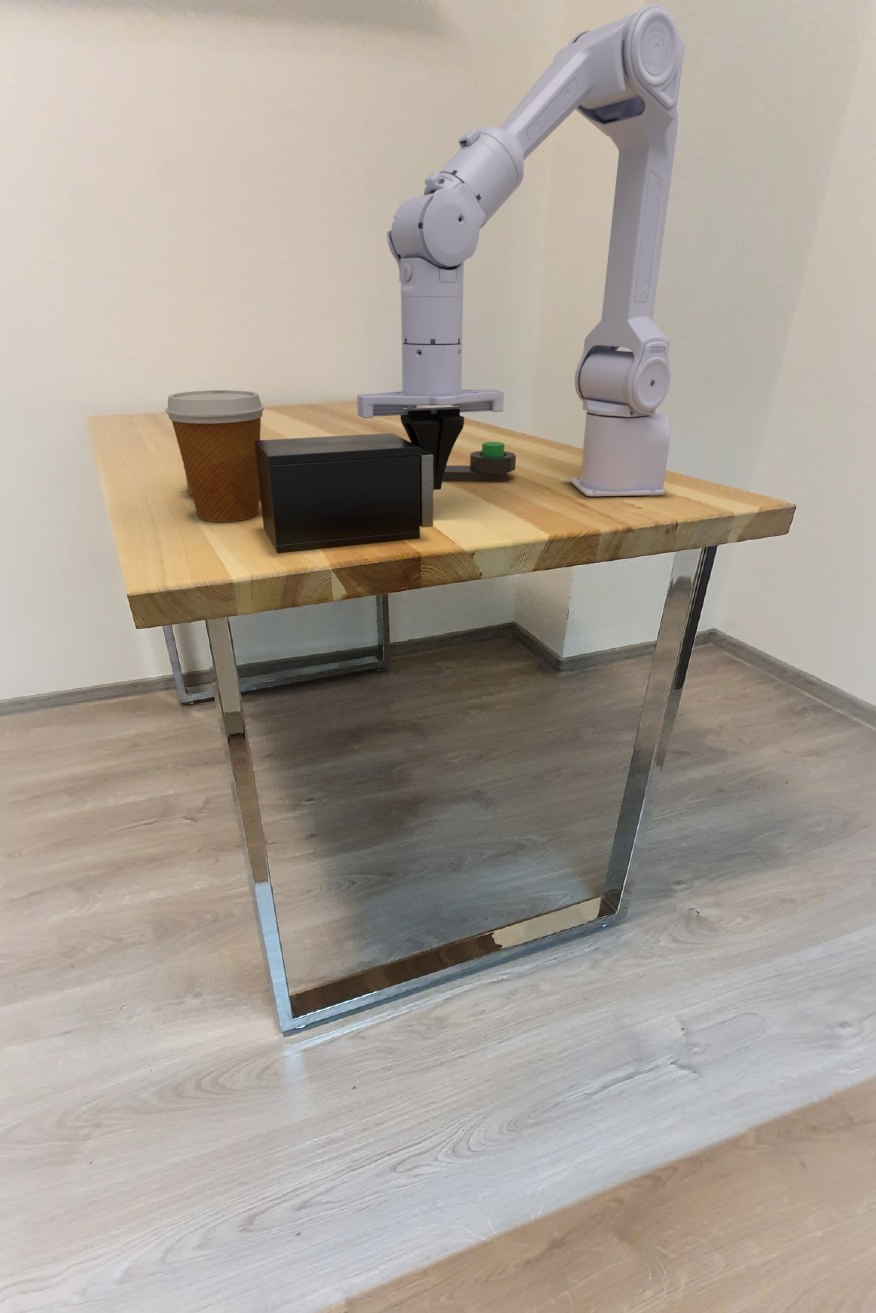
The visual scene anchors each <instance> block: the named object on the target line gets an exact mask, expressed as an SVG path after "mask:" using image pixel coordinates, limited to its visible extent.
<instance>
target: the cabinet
mask: <svg viewBox="0 0 876 1313" xmlns="http://www.w3.org/2000/svg"><path fill="white" fill-rule="evenodd" d="M255 449H256V460H257V470H258V479H259V489H260V498H259V499H260V506H261V516H262V517H261V518H262V525H263V526H262V527H263V530H264V532H265V534H266V536H267V538H268V539H269V541H270V543H271V544H272V547H273V548H274V550H275V552H276V554H286V553H297V552H306V551H314V550H317V551H318V550H324V549H334V548H343V547H344V548H345V547H352V546H353V547H354V546H355V547H356V546H364V545H373V544H382V543H383V544H384V543H392V542H402V541H403V542H404V541H410V540H420V539H421V526H420V457H419V455H420V451H419V447H418V446H416V445H415V444H413V443H411V441H410V440H409V441H408V440H407V439H405V438H403V437H401V436H399V435H397V434H395V433H393V432H385V433H383V432H382V433H368V434H366V433H365V434H351V435H350V434H349V435H331V436H312V437H311V436H310V437H293V438H277V439H276V438H275V439H260V440H255Z"/></svg>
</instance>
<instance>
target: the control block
mask: <svg viewBox="0 0 876 1313" xmlns="http://www.w3.org/2000/svg"><path fill="white" fill-rule="evenodd" d="M516 463H517V456H516V454H515V453H514V452H512V451H507V450H504V456H502V457H486V456H482V450H477V451H473V452H470V453H469V465H446V468H445V472H444V476H443V480H442V482H507V480H508V473H512V472H514V471H516Z"/></svg>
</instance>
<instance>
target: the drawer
mask: <svg viewBox="0 0 876 1313" xmlns="http://www.w3.org/2000/svg"><path fill="white" fill-rule="evenodd" d="M419 451H420V455H419V457H420V528H430V527H434V491H435V490H434V489H435V478H434V476H433V455H432V454H430V453H429V452H427V451H425V450H423V449H421V448H419Z"/></svg>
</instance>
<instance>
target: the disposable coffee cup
mask: <svg viewBox="0 0 876 1313" xmlns="http://www.w3.org/2000/svg"><path fill="white" fill-rule="evenodd" d="M263 411H265V406H264V405H263V404H262V402H261V399H260V396H259V393H258V392H255V391H249V390H235V389H233V390H232V389H220V390H219V389H218V390H217V389H216V390H215V389H214V390H213V389H211V390H193V391H192V390H191V391H186V392H185V391H184V392H177V393H173V394H172V393H171V394H169V395H168V396H167V408H165V409H164V412H165V413H166V414H167V415H168V419H169V420H170V421H171V423H172V428H173V430H174V435H175V438H176V443H177V444H178V449H179V452H180V456H181V460H182V463H184V464H183V468H184V467H185V469H184V472H185V471H186V474H187V479H188V482H189V485H190V489H191V492H192V495H191V497H192V499H193V504H194V507H195V511H196V515H197V518H198V519H200V520H203V521H208V522H216V523H228V522H238V521H243V520H248V519H250V518H254V517H256V516H257V515H258V514H259V513H260V498H259V479H258V470H257V460H256V449H255V440H261V423H262V417H263ZM186 474H185V475H186Z"/></svg>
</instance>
